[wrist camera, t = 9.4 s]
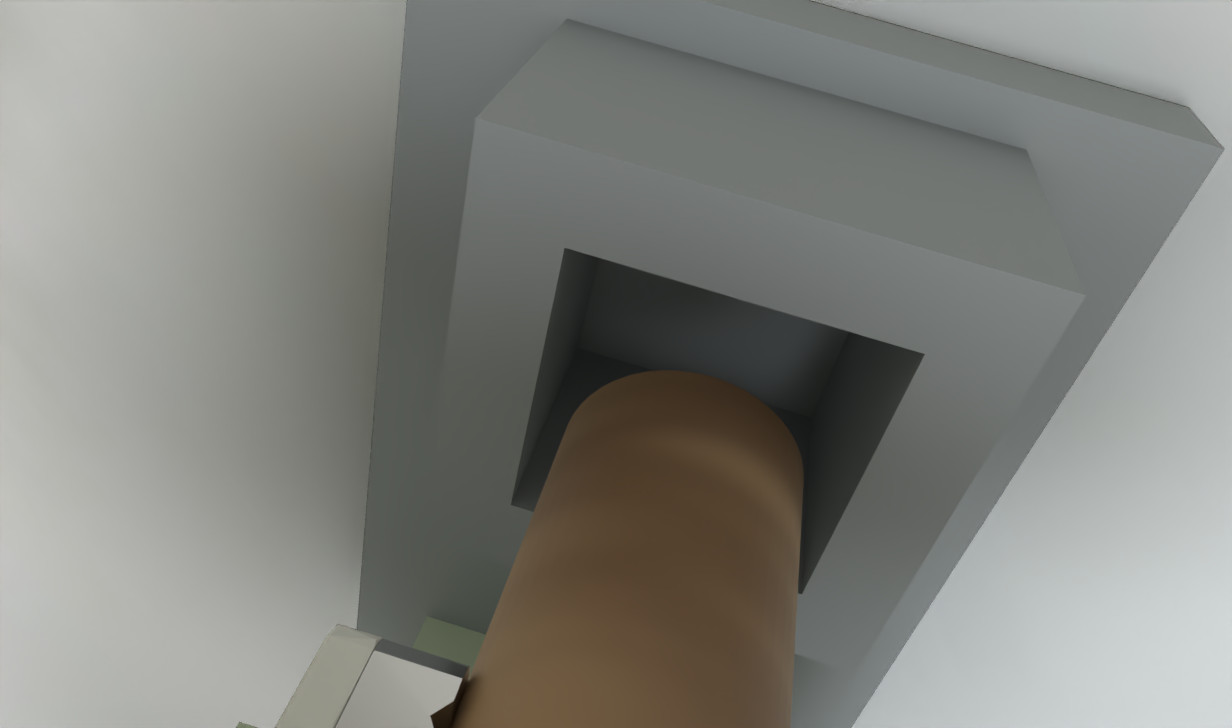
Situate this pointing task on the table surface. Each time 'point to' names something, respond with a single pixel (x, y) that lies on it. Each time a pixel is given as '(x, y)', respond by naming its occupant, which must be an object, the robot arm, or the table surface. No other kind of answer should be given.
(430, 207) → the nook
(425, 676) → the robot arm
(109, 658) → the table surface
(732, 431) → the peg
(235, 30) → the table surface
